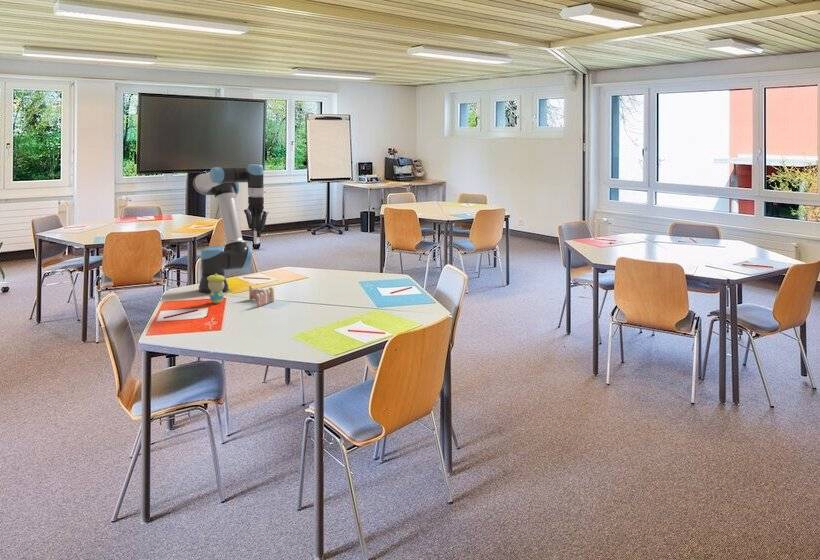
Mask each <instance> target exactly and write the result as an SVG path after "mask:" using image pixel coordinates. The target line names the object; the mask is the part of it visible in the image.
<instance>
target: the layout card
mask: <svg viewBox="0 0 820 560" xmlns="http://www.w3.org/2000/svg"><path fill="white" fill-rule="evenodd" d="M290 304H293V302H292V301H283V300H275V299H274V302H272V303H271V302H269V303H267V304H264V305H262V306H259V307H260V308H267V309H276V310H278V309H281V308H283V307H286V306H288V305H290ZM242 305H244V306H251V307H258V306H257V300H255V299H252V300H250V301H248V302H245V303H242Z"/></svg>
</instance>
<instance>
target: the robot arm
mask: <svg viewBox="0 0 820 560" xmlns="http://www.w3.org/2000/svg"><path fill="white" fill-rule="evenodd" d="M264 173H265V171H264V167H263V165H262V164H257V163H255V164H253V163H250V164H247V166H237V167H236V166H234V167H232V166H231V167H230V166H229V167H226V166H223V167H221V166H216V167H212V168H211V169H210V170H209V172H207V173H201V174H197V175H196V176H195V177H194V178H193V181H192V186H193V188H194V189H195V191H196V192H197V193H199V194H201V195H205V196H214V198H215V201H217V202H218V204H219V210H220V215H221V220H222V225H223V231H224V235H225V236H224V237H225V241H226V243H225V244H224V246H223V245H222V244H221V245H211V246H206V247H204V248H202V249H201V251H200V264H201V265H200V266H201V270H200V271H201V278H200V280H199V285H198V291H199V293H203V294H210V293H211V290H210V289H209V287H208V282H209V281H208V280H207V277H208V276H210V275H215V274H217V275H222V276H224V277H225V280H224V288H223V290H222V292H223V293H225V292H228V291H229V284H228V281H227V279H226V275H225V273H226V272H225V271H227V270H239V269H241V270H242V269H246V268H250V266H251V264H252V262H253V249H252V247H251V246H249V245H247V241H245V240H244V239H243V234H242V230H241V223H240V220H239V214H238V209H237V203H236V201H235V200H236V198H237V197H238V194H239V192H240V184H239V183H247V195H248V197H247V199H248V200H247V203H248V206H247V208H246V209H243V213H244V215H245V217H246V223H247V225H248V226H247V227H248V229H249V230H251V231H252V232H251V233H252V234H251V235H252V237H253V244H254V245H258V244H260V238H261V235H262V232H261V231H262V230H263V231H264V230H265V227H266V222H267V216H268V215H269V211H268V210H266V209H265V206H264V203H265V198H264V195H265V194H264V193H265V191H264Z"/></svg>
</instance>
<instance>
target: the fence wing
mask: <svg viewBox="0 0 820 560" xmlns="http://www.w3.org/2000/svg"><path fill="white" fill-rule="evenodd" d="M269 302H271V292H270V290H268V292H267V291H264V294H263V293H260V294H257V306H256V307H259V306H262V305H264V304H267V303H269Z"/></svg>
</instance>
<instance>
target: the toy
mask: <svg viewBox="0 0 820 560" xmlns="http://www.w3.org/2000/svg"><path fill="white" fill-rule="evenodd" d="M225 278H226V276H225V277H224V276H222V275H217V274H215V275H210V276H208V277H207V280H208V281H209V282H208V287H209V289H210V290H211V293H209V299H210V301H211V302H212V303H213V304H215V305H216V304H217V305H218V304H220V303H221V302H222V301H223V299H224V292H222V290H223V288H224V280H225Z"/></svg>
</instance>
